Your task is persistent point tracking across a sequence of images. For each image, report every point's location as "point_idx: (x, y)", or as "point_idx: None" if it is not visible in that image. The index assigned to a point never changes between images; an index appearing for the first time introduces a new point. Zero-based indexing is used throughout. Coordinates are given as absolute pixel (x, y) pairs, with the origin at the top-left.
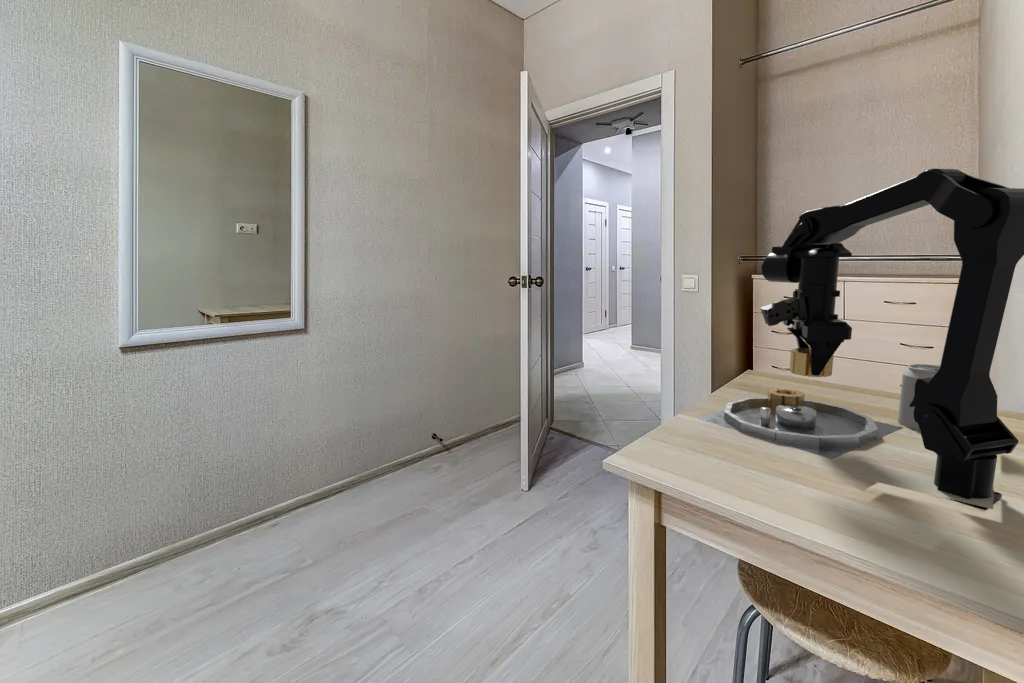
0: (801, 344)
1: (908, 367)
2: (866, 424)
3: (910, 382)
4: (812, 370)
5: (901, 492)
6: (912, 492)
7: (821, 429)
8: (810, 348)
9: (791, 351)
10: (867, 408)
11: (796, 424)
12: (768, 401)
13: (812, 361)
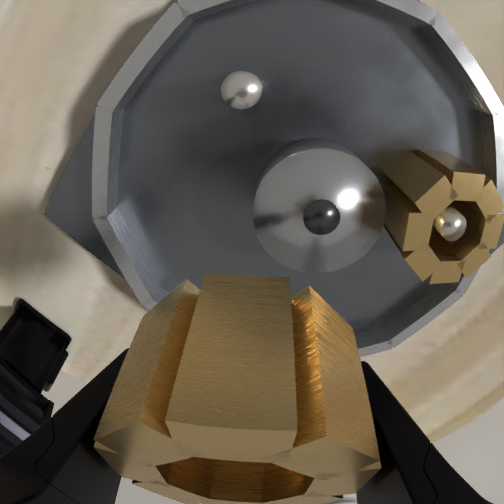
0: (398, 488)
1: (341, 502)
2: None
3: None
4: (109, 365)
5: (7, 272)
6: (15, 285)
7: (253, 250)
8: (8, 460)
9: (268, 414)
10: (447, 369)
11: (255, 190)
12: (451, 160)
13: (68, 403)
